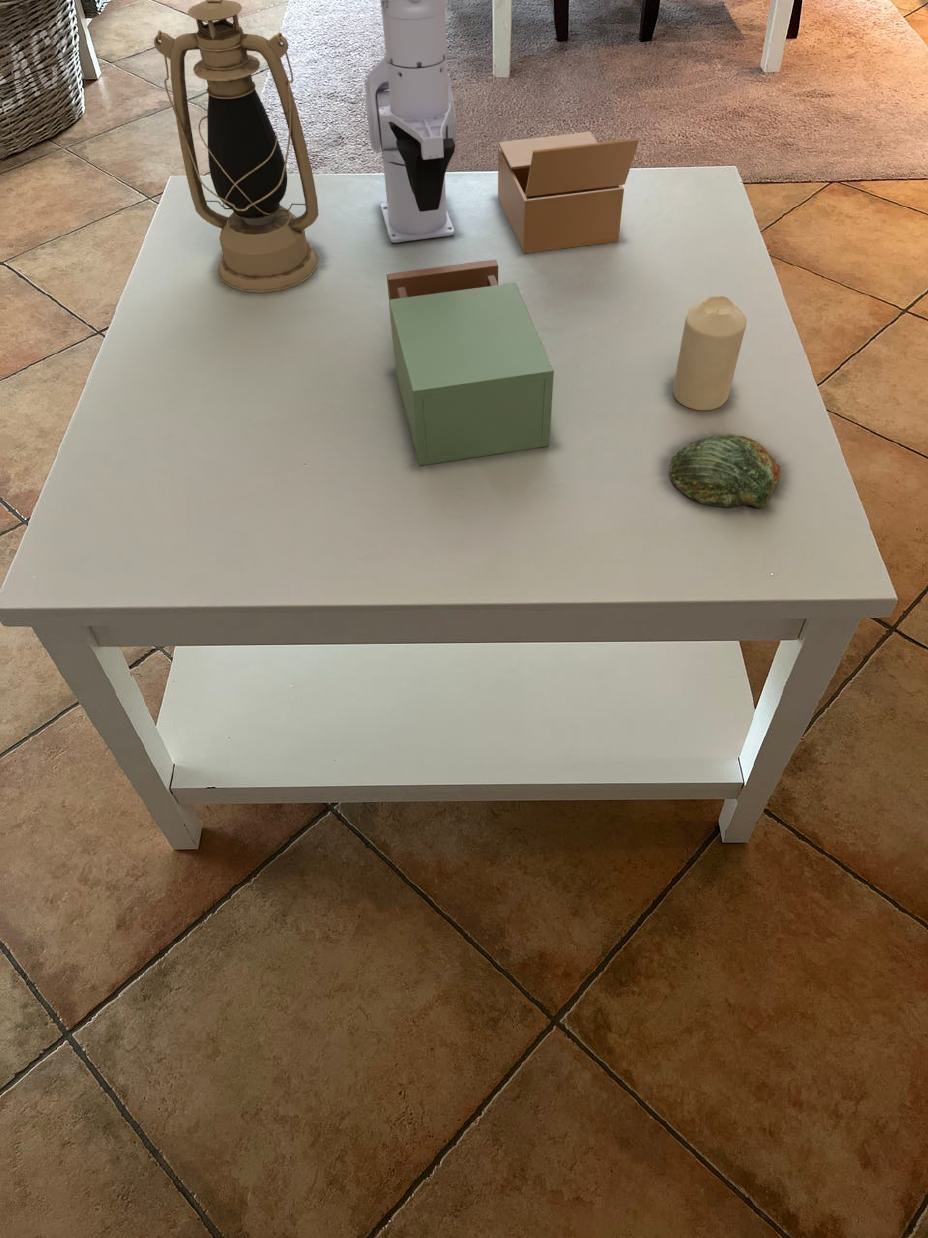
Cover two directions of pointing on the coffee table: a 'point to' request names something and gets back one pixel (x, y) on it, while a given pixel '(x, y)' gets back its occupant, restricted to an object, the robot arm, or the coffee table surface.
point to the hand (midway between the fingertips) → (425, 200)
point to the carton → (554, 201)
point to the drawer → (442, 279)
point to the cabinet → (471, 373)
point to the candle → (709, 353)
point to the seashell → (725, 471)
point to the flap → (580, 167)
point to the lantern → (243, 151)
